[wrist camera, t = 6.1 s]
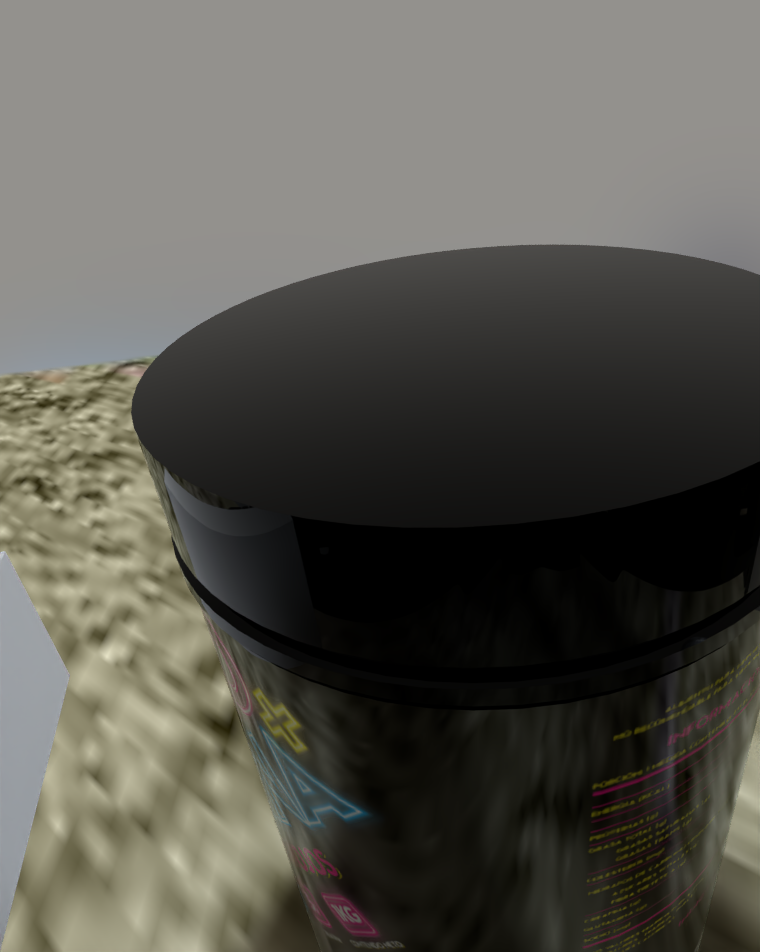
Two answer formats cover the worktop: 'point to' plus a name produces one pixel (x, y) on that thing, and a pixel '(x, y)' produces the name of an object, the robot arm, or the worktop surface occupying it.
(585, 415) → the supplement container
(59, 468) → the worktop surface
